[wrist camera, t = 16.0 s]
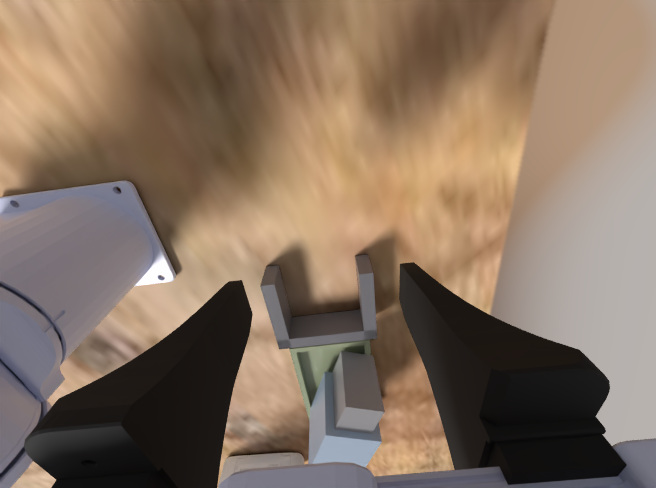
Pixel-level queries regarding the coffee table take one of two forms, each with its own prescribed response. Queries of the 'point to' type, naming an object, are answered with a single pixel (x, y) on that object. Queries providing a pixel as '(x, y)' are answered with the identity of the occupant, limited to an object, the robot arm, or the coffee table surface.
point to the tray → (320, 364)
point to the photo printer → (259, 462)
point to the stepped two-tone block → (346, 412)
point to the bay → (321, 325)
